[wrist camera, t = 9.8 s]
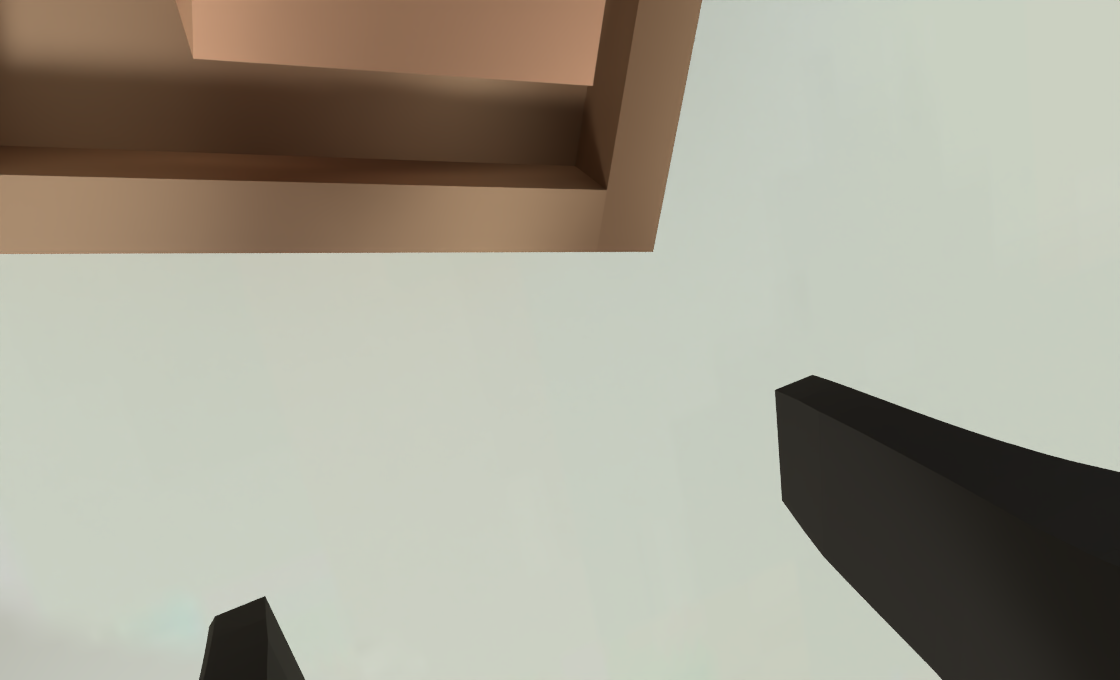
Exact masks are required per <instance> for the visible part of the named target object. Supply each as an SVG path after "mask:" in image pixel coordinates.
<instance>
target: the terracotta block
mask: <svg viewBox="0 0 1120 680" xmlns="http://www.w3.org/2000/svg"><path fill="white" fill-rule="evenodd" d="M605 1H606V0H176V4H177V7H178V10H179V13H180V17H181V20H182V23H183V27H184V30H185V33H186V36H187V40H188V43H189V46H190V50H191V53H192V56H193V59H205V60H220V61H234V62H249V63H264V64H278V65H293V66H308V67H322V68H337V69H352V70H366V71H381V72H396V73H410V74H425V75H440V76H454V77H469V78H484V79H499V80H513V81H528V82H543V83H557V84H572V85H587V86H593V81H594V74H595V67H596V61H597V54H598V48H599V41H600V34H601V28H602V21H603V15H604V8H605Z"/></svg>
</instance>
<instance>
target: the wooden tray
mask: <svg viewBox="0 0 1120 680" xmlns="http://www.w3.org/2000/svg"><path fill="white" fill-rule="evenodd" d="M701 3H702V0H606V1H605V8H604V15H603V21H602V28H601V34H600V41H599V48H598V54H597V61H596V67H595V74H594V81H593V86H587V85H572V84H557V83H543V82H528V81H513V80H499V79H484V78H469V77H454V76H440V75H425V74H410V73H396V72H381V71H366V70H352V69H337V68H322V67H308V66H293V65H278V64H264V63H249V62H234V61H220V60H205V59H193V56H192V53H191V50H190V46H189V43H188V40H187V36H186V33H185V30H184V27H183V23H182V20H181V17H180V13H179V10H178V7H177V4H176V0H0V254H89V253H396V252H653V249H654V244H655V239H656V233H657V228H658V223H659V218H660V213H661V208H662V203H663V198H664V192H665V187H666V182H667V177H668V172H669V167H670V162H671V157H672V152H673V146H674V141H675V136H676V131H677V126H678V121H679V116H680V111H681V105H682V100H683V95H684V90H685V85H686V80H687V75H688V70H689V65H690V59H691V54H692V49H693V44H694V39H695V34H696V29H697V24H698V18H699V13H700V8H701Z"/></svg>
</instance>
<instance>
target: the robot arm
mask: <svg viewBox="0 0 1120 680" xmlns="http://www.w3.org/2000/svg"><path fill="white" fill-rule="evenodd" d="M775 397H776V413H777V428H778V443H779V459H780V474H781V490H782V501H783V502H784V504H785V505H786V506H787V508H788V509H789V511H790V512H791V513H792V515H793V516H794V518H795V519H796V520H797V522H798V523H799V525H800V526H801V527H802V529H803V530H804V532H805V533H806V534H807V535H808V537H809V538H810V539H811V541H812V542H813V543H814V545H815V546H816V547H817V548H818V550H819V551H820V552H821V554H822V555H823V556H824V557H825V558H826V560H827V561H828V562H829V563H830V564H831V565H832V566H833V567H834V568H835V569H836V570H837V571H838V572H839V573H840V574H841V575H842V576H843V578H844V579H845V580H846V581H847V582H848V583H849V584H850V585H851V586H852V587H853V588H854V589H855V590H856V591H857V592H858V593H859V594H860V595H861V596H862V597H863V598H864V599H865V600H866V601H867V602H868V603H869V604H870V605H871V607H872V608H873V609H874V610H875V611H876V612H877V613H878V614H879V615H880V616H881V617H882V618H883V619H884V620H885V621H886V622H887V623H888V624H889V625H890V626H891V627H892V628H893V629H894V630H895V631H896V632H897V633H898V634H899V635H900V636H901V637H902V638H903V639H904V640H905V641H906V642H907V643H908V644H909V645H910V646H911V647H912V648H913V649H914V650H915V652H916V653H917V654H918V655H919V656H920V657H921V658H922V659H923V660H924V661H925V662H926V663H927V664H928V665H929V666H930V667H931V668H932V669H933V670H934V671H935V672H936V673H937V674H938V675H939V677H940V678H941V679H942V680H1120V472H1116V471H1112V470H1108V469H1103V468H1099V467H1095V466H1090V465H1086V464H1082V463H1077V462H1073V461H1069V460H1066V459H1062V458H1058V457H1054V456H1050V455H1047V454H1043V453H1040V452H1036V451H1033V450H1030V449H1026V448H1023V447H1020V446H1016V445H1013V444H1009V443H1006V442H1003V441H999V440H996V439H993V438H990V437H987V436H984V435H981V434H978V433H975V432H971V431H968V430H966V429H963V428H960V427H957V426H954V425H951V424H948V423H945V422H942V421H940V420H937V419H934V418H931V417H928V416H925V415H923V414H920V413H917V412H914V411H912V410H909V409H906V408H903V407H901V406H898V405H895V404H893V403H890V402H887V401H885V400H882V399H879V398H877V397H874V396H871V395H868V394H866V393H863V392H860V391H858V390H855V389H852V388H849V387H847V386H844V385H841V384H838V383H835V382H833V381H830V380H827V379H824V378H820V377H817V376H814V375H811V376H809V377H806V378H804V379H801V380H799V381H796V382H794V383H791V384H789V385H786V386H784V387H781V388H779V389H776V390H775ZM199 680H305V679H304V677H303V674H302V672H301V670H300V668H299V666H298V664H297V662H296V660H295V658H294V656H293V654H292V651H291V649H290V647H289V645H288V643H287V641H286V639H285V637H284V635H283V633H282V631H281V628H280V626H279V624H278V622H277V620H276V618H275V616H274V614H273V612H272V610H271V608H270V605H269V603H268V601H267V599H266V597H265V596H264V597H262V598H259V599H257V600H254V601H252V602H250V603H247V604H245V605H242V606H240V607H237V608H235V609H232V610H230V611H227V612H225V613H222V614H220V615H217V616H215V618H214V619H213V621H212V623H211V625H210V626H209V632H208V638H207V644H206V649H205V654H204V659H203V664H202V669H201V673H200V678H199Z"/></svg>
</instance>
